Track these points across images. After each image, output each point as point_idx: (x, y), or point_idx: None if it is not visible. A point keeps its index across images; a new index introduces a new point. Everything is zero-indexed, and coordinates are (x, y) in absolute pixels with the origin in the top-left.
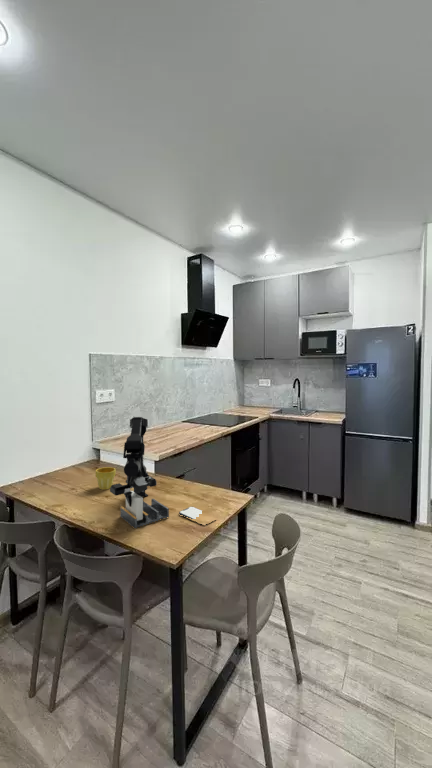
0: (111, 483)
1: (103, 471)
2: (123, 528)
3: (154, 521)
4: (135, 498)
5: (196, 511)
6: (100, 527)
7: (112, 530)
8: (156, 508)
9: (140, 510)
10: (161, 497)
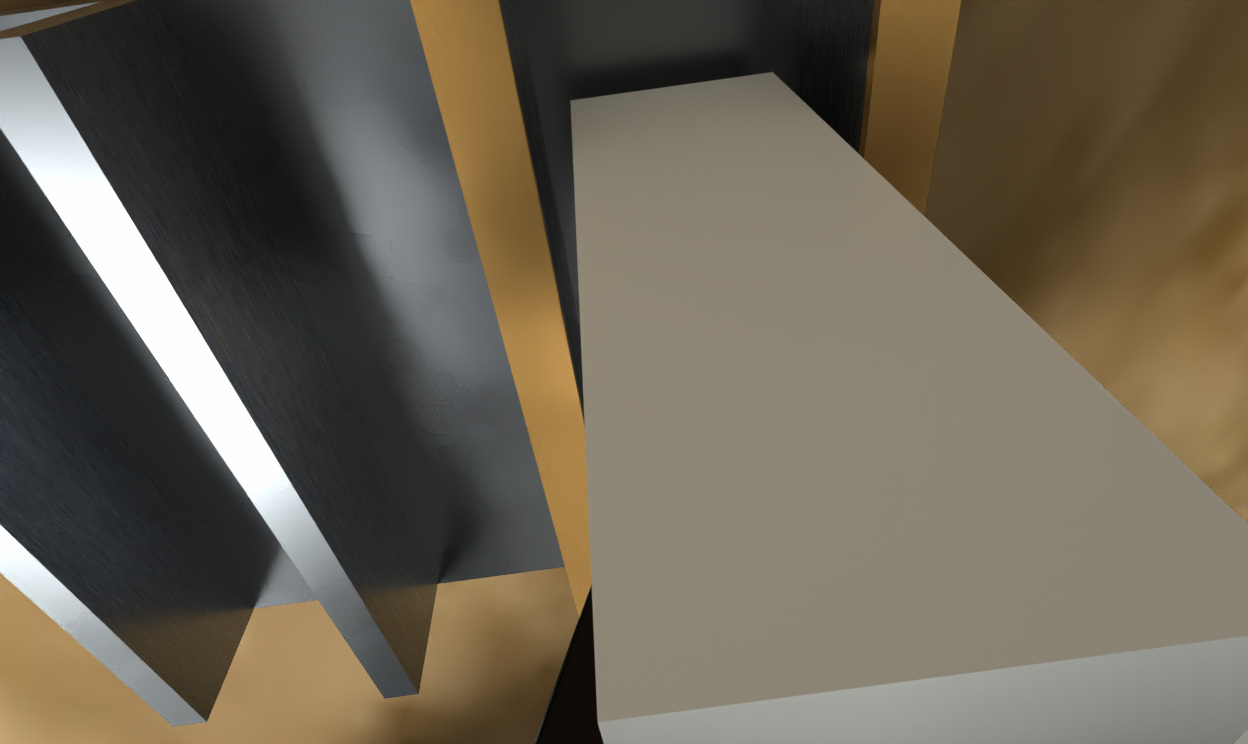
0: None
1: None
2: (1013, 76)
3: None
4: None
5: None
6: (1234, 326)
7: (1211, 112)
8: (159, 490)
9: (680, 190)
10: (87, 738)
